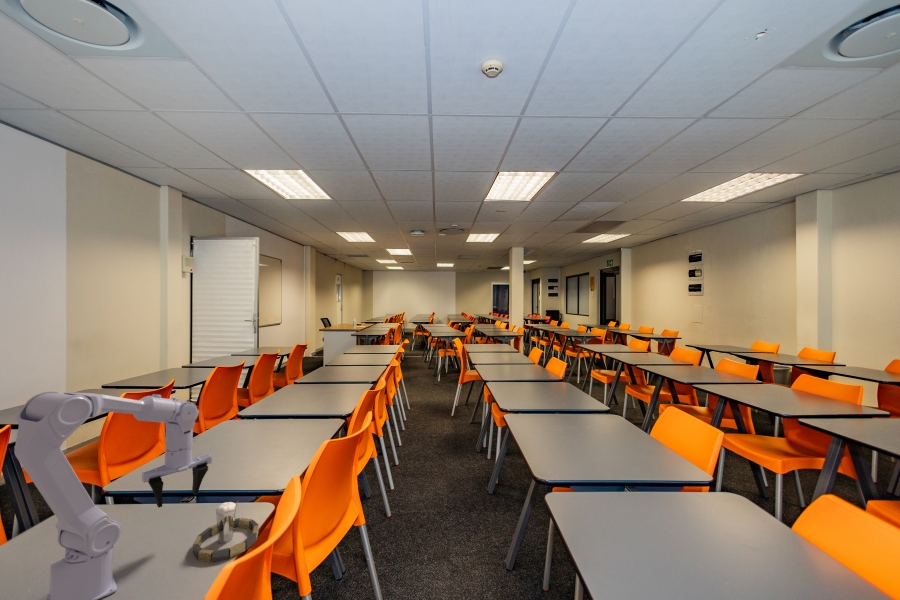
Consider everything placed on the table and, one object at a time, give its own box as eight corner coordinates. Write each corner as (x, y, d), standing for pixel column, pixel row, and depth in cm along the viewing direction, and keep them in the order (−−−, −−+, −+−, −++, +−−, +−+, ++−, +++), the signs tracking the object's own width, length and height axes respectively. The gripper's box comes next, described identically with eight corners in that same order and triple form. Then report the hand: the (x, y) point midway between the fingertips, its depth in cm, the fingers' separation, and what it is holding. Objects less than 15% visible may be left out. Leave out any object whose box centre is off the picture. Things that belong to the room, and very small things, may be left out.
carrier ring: (204, 570, 83) (205, 561, 83) (186, 544, 92) (186, 536, 92) (267, 540, 94) (267, 532, 94) (245, 519, 103) (245, 512, 103)
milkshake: (232, 545, 92) (232, 505, 92) (211, 544, 92) (212, 505, 92) (242, 533, 96) (243, 496, 96) (222, 533, 96) (223, 496, 96)
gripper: (147, 460, 86) (145, 517, 86) (216, 443, 97) (215, 493, 97) (140, 452, 90) (139, 507, 90) (207, 436, 102) (206, 485, 101)
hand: (177, 499), depth 94 cm, fingers open, 7 cm apart
